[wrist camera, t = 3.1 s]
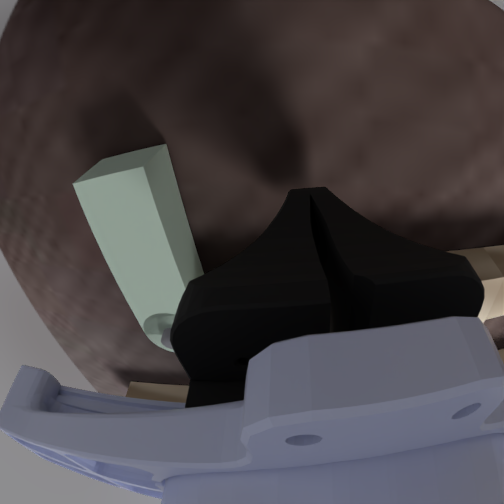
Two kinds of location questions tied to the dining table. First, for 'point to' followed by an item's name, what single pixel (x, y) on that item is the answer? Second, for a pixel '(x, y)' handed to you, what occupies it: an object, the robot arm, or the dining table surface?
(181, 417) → the robot arm
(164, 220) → the hinged leg
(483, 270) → the tan long rail frame
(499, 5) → the coffee box
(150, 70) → the dining table surface
